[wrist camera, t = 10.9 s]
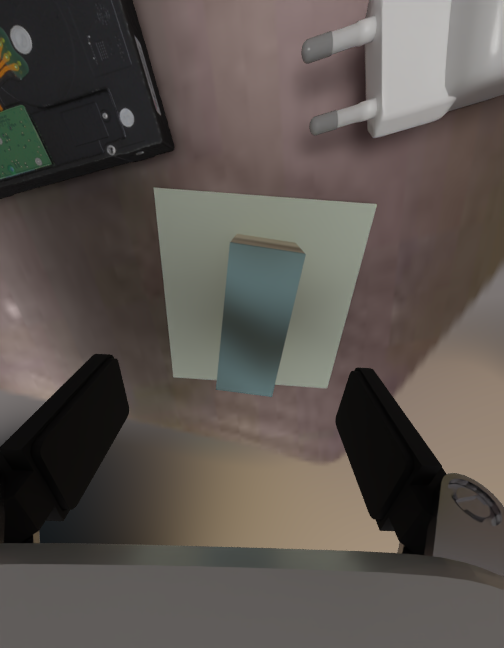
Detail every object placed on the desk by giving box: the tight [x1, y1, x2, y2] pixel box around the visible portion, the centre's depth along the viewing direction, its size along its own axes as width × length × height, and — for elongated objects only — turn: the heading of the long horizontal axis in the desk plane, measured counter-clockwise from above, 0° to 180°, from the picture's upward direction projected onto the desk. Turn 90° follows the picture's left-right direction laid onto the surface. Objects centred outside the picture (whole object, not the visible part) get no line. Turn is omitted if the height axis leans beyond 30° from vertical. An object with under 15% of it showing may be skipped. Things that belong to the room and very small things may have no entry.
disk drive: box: [0, 0, 174, 199], centre depth 13 cm, size 10×3×15 cm
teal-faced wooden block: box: [216, 234, 306, 397], centre depth 17 cm, size 10×4×4 cm, turn 172°
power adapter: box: [301, 0, 504, 138], centre depth 10 cm, size 11×5×6 cm, turn 104°
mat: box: [154, 188, 377, 388], centre depth 19 cm, size 14×15×1 cm
